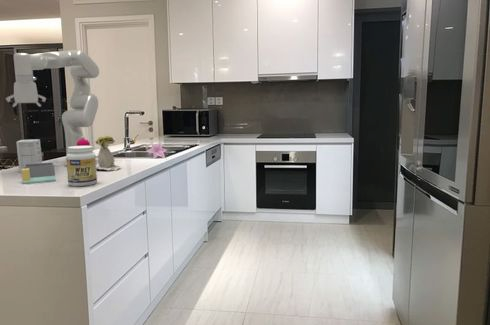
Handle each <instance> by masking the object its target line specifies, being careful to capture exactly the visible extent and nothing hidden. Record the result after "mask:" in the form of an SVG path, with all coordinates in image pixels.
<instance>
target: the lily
mask: <svg viewBox="0 0 490 325" xmlns="http://www.w3.org/2000/svg"><path fill="white" fill-rule="evenodd" d="M150 146H151V148H149V149H148V150H146V152H147V153H151V154H153V159H154V160H155V159H156V158H157V157H160V158H163V159H165V158H166V156H165V153H164V152H166V151H167V148H164V147H163V144H162V141H160V142H158V143H157V144H156V145H155V144H154V143H150Z"/></svg>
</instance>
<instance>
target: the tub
mask: <svg viewBox="0 0 490 325" xmlns="http://www.w3.org/2000/svg"><path fill="white" fill-rule="evenodd" d="M26 168H29V170H30V178H35V177H47V176H55V177H56V172H55V171H56V170H55V163H54V162H42V163H39V164H25V165H24V169H26Z"/></svg>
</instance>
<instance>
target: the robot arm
mask: <svg viewBox="0 0 490 325" xmlns="http://www.w3.org/2000/svg"><path fill="white" fill-rule="evenodd" d="M13 63H14V64H13V65H14V66H13V67H14V74H15V77H14V78H15V82H14V83H13V94H10V96H9V95H8V96H6V97H5V100H6V101H7V102H8V104H9V105H11V106H12V107H13V108H12V109H13V114H14V115H15V116H18V107H17V105H18V104H36V105H37V115H38V116H40V114H42V109H41V107H42V106H43V105H44V104H45V103H46V100H47V98H46V97H45V96H44V95H40V94H38V88H37V84H36V82H35V81H37V79H38V78H37V76H36V77H35V76H34V71H36V70H37V71H39V70H41V71H42V70H44V69H60V68H66V67H68V68H70V69H69V70H70V71H69V72H70V75H71V77H72V80H73V84H74V88H73V91H72V94H71V98H70V101H69V105H70V106H69V107H70V108H71V109H70V110H69V109H68V110H65V111H64V112H63V113H62V115H61V122H62V125H63V130H64V138H65V139H64V140H65V148H66V150H65V151H66V155H67V154H68V153H69V152H68V147H72V146H77V142H78V141H79V140H81V137H82V136H84V133H83V131H82V129H81V128H89V127H92V125H93V124H94V121H95V119H96V115H97V112H98V108H99V99H98V97H97V96H96V95H95V94H93V93H90V91H91V86H90V84H89V83H88V81H87V79H95V78H98V77H99V75H100V68H99V66H98V64H97V63H96V62H95V61H94V59H92V58H91V57H90V55H89V54H87V53H86V52H85V51H84V50H81V49H77V50H76V49H75V50H59V51H58V50H57V51H48V52H47V51H46V52H42V53H31V54H29V53H26V52H16V53H14V54H13ZM13 98H14V102H12V101H11V99H13ZM39 98H40V99H42V100H41V101H40V102H39ZM64 166H65V167H67V162H65V163H64Z"/></svg>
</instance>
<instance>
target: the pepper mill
mask: <svg viewBox="0 0 490 325" xmlns="http://www.w3.org/2000/svg"><path fill="white" fill-rule="evenodd" d="M85 138H86V137H85V136H84V135H83V136H82V137H81V140H79V141H78V142H77V146H91V144H90V143H91V142H90V141H89V140H88V139H85Z"/></svg>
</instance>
